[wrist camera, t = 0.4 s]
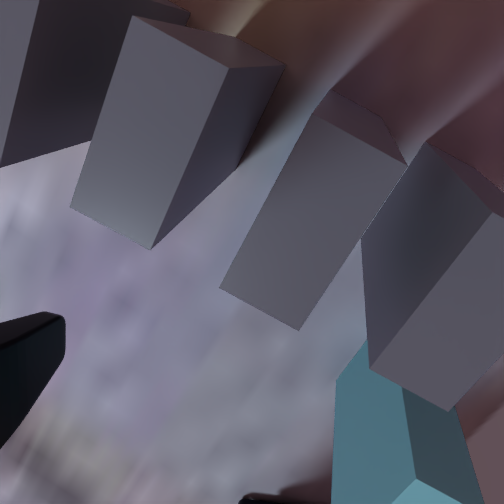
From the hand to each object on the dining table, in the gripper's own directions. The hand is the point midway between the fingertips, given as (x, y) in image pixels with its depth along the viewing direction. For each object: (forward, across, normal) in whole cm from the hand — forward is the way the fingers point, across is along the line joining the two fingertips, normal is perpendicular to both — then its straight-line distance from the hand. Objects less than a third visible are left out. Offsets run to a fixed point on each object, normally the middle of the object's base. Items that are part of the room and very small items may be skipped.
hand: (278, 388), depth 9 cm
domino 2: (+13, +4, -4) cm, 15 cm away
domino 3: (+13, 0, -2) cm, 14 cm away
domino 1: (+13, +9, -5) cm, 17 cm away
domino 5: (+14, -5, +7) cm, 16 cm away
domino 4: (+13, -4, -1) cm, 14 cm away
